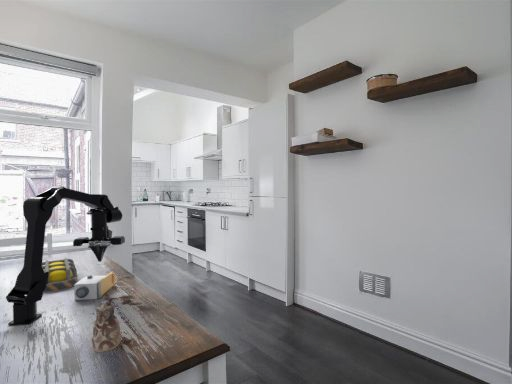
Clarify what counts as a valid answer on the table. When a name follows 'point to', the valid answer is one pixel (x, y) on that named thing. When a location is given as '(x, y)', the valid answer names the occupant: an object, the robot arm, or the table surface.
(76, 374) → the table surface
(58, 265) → the cage light
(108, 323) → the figurine
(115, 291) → the table surface
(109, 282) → the side door
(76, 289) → the block
